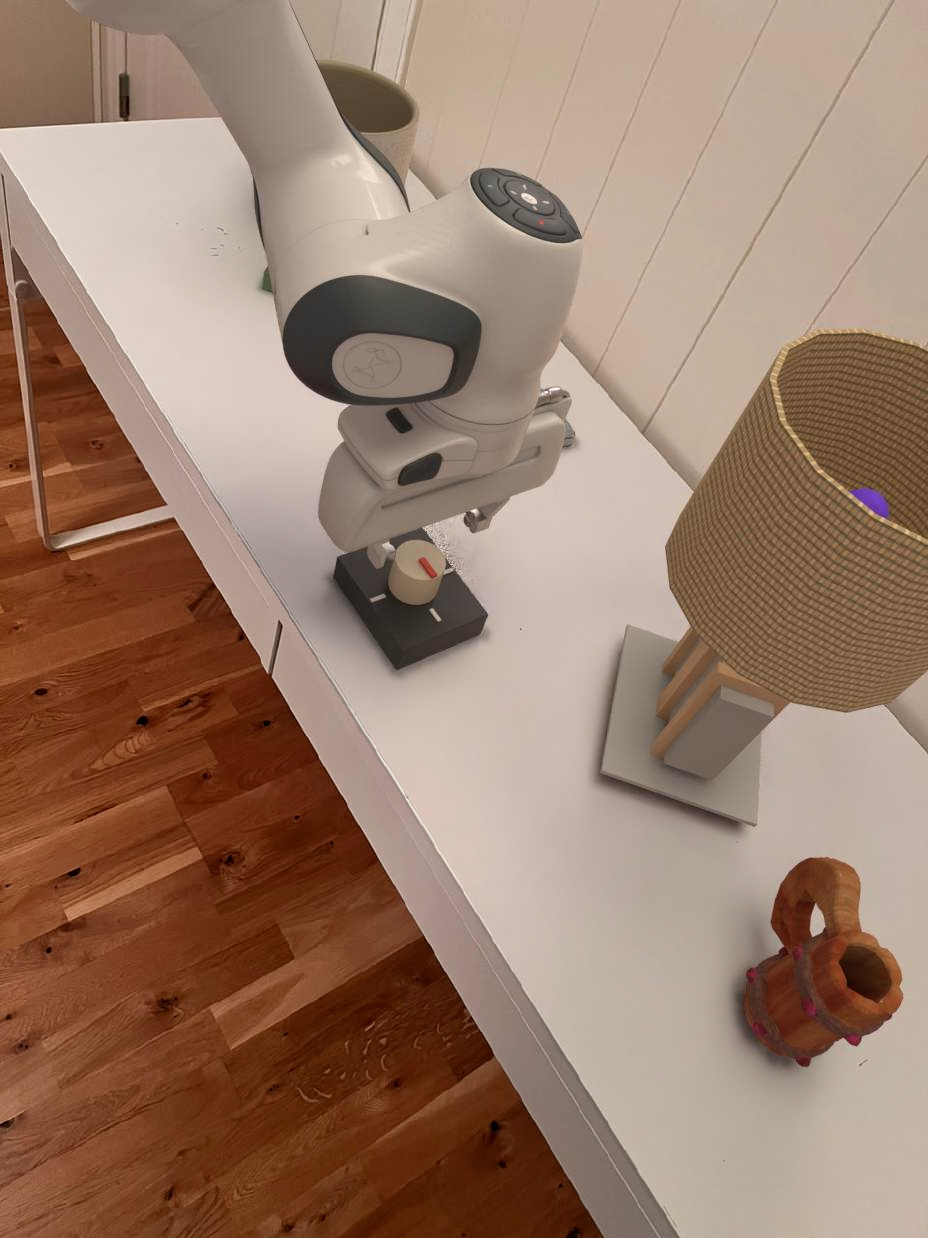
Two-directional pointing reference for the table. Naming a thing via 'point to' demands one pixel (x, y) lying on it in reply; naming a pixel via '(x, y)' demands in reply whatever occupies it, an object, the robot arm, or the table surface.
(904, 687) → the desk lamp
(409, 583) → the dial
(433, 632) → the panel
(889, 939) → the table surface
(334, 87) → the planter
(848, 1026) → the mug
